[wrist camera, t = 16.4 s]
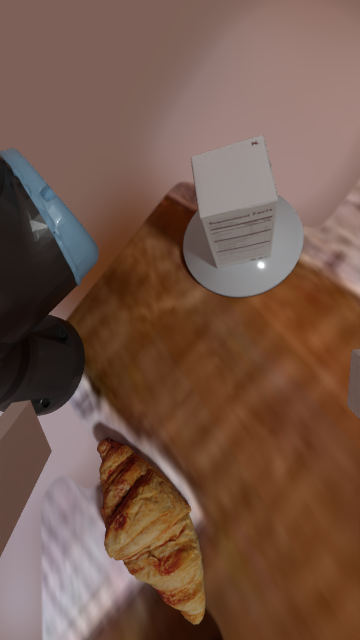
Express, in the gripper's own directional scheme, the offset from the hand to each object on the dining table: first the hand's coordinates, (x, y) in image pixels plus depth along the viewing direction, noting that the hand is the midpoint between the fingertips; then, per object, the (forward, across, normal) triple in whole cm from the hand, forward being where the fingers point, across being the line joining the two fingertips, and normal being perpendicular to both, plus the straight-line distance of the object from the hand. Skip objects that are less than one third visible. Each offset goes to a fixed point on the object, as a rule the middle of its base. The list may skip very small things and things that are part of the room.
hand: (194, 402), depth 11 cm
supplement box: (+29, +9, +3) cm, 31 cm away
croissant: (+14, -7, -27) cm, 31 cm away
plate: (+30, +10, +2) cm, 32 cm away
